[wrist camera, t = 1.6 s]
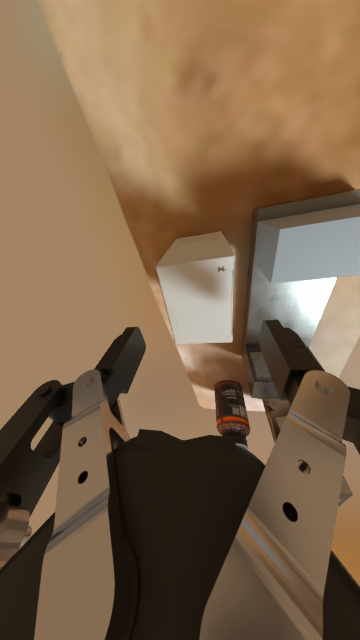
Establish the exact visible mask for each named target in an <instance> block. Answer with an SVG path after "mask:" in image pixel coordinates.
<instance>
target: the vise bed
mask: <svg viewBox="0 0 360 640" xmlns="http://www.w3.org/2000/svg"><path fill="white" fill-rule="evenodd" d="M355 204H360V189H355V190H350V191H344V192H339V193H334V194H329V195H323V196H318V197H313V198H308V199H302V200H297V201H292V202H287V203H281V204H276V205H271V206H266V207H260V208H255V209H253V220H252V233H251V246H250V259H249V272H248V284H247V297H246V310H245V323H244V336H243V349H242V359H243V363H244V367H245V371H246V376H247V380H248V384H249V388H250V393H251V397H252V398H271V399H279V396H278V394H277V391H276V388H275V386H274V383H273V381H272V378H271V375H270V373H269V370H268V367H267V365H266V362H265V360H264V357H263V354H262V352H261V349H260V344H259V339H260V332H261V326H262V321H263V320H274V319H277V320H279V322H280V323H281V325H282V326H283V328H288V327H289V328H290V329H292V330H293V331H294V332H296V333H297V334H298V335H299V337H300V338H301V340H302V342H304V344H305V345H306V348H308V347H309V345H310V342H311V340H312V337H313V335H314V332H315V330H316V327H317V325H318V323H319V320H320V318H321V315H322V313H323V310H324V308H325V305H326V303H327V300H328V298H329V296H330V293H331V291H332V288H333V286H334V283H335V281H336V278H337V277H336V278H326V279H315V280H305V281H295V282H285V283H274V284H271V283H270V282H269V281H268V279H267V278H266V277H265V276H264V275H263V273H262V272H261V271H260V270H259V268H258V267H257V266H256V265H255V263H254V254H255V243H256V232H257V222H258V221H263V220H269V219H275V218H281V217H286V216H292V215H298V214H304V213H309V212H315V211H321V210H327V209H332V208H338V207H344V206H350V205H355ZM308 349H309V348H308ZM309 351H310V349H309ZM310 352H311V351H310ZM311 353H312V352H311ZM312 355H313V354H312ZM313 356H314V355H313ZM314 358H315V356H314ZM315 359H316V358H315ZM316 360H317V359H316ZM317 362H318V361H317ZM318 363H319V362H318ZM319 365H320V363H319ZM320 366H321V365H320ZM321 367H322V366H321ZM322 369H323V368H322ZM323 370H324V369H323ZM324 371H325V370H324Z"/></svg>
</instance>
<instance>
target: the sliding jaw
mask: <svg viewBox="0 0 360 640" xmlns="http://www.w3.org/2000/svg"><path fill="white" fill-rule="evenodd" d="M254 263H255V265H256V266H257V267H258V268H259V270H260V271H261V272H262V273H263V275H264V276H265V277H266V278H267V279H268V281H269V282H270V283H271V284H274V283H285V282H295V281H305V280H315V279H326V278H336V277H346V276H356V275H360V204H355V205H350V206H344V207H338V208H332V209H327V210H321V211H315V212H309V213H304V214H298V215H292V216H286V217H281V218H275V219H269V220H263V221H258V222H257V232H256V243H255V254H254Z"/></svg>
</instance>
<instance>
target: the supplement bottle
mask: <svg viewBox="0 0 360 640" xmlns="http://www.w3.org/2000/svg"><path fill="white" fill-rule="evenodd" d="M215 402H216V419H217V429H218V431H219V433H220V434H221V435H222V436H225V437H235V444H236V445H238V446H240V447H242V448H244V449H246V450H247V449H248V446H247V440H246V436H248V434H249V433H250V427H249V422H248V417H247V412H246V407H245V402H244V397H243V392H242V388H241V386H240V385H239V384H237V383H235V382H232V381H224V382H220V383H218V384H217V385H216V387H215Z"/></svg>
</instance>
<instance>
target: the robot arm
mask: <svg viewBox="0 0 360 640" xmlns="http://www.w3.org/2000/svg"><path fill="white" fill-rule="evenodd" d="M259 344H260V349H261V352H262V354H263V357H264V360H265V362H266V365H267V367H268V370H269V373H270V375H271V378H272V381H273V383H274V386H275V388H276V391H277V394H278V396H279V399H280V400H288V401H289V404H290V406H291V407H290V410H289V412H288V414H287V417H286V419H285V421H284V424H283V426H282V428H281V431H280V433H279V435H278V438H277V440H276V442H275V445H274V447H273V449H272V452H271V454H270V457H269V459H268V461H267V463H266V466H265V465H264V464H263V463H262V462H261V461H260V460H259V459H258V458H257V457H256V456H254V455H253V454H252V453H250V452H249V451H248V450H246V449H244V448H242V447H240V446H238V445H236V444H235V437H225V436H214V435H208V436H203V437H198V438H194V439H189V440H180V439H178V438H176V437H173V436H171V435H169V434H167V433H164V432H162V431H156V430H143V429H140V430H139V433H138V436H137V437H134V438H132V439H131V438H130V436H129V434H128V432H127V429H126V426H125V422H124V418H123V413H122V409H121V405H120V401H119V399H118V397H119V394H120V393H126V394H127V393H128V391H129V388H130V386H131V383H132V381H133V379H134V376H135V374H136V371H137V369H138V367H139V365H140V362H141V360H142V357H143V355H144V353H145V349H146V345H145V341H144V339H143V336H142V334H141V331H140V329H139V328H138V327H127V328H126V329H125V331H124V332H123V334H122V335H120V336H119V337H117V338H116V339H115V340H114V341H113V343H112V344H111V347H109V349H108V350H107V352H106V353H105V354H104V356H103V357H102V359H101V360H100V362H99V363H98V365H97V366H96V368H95V369H94V370H89V371H87V372H85V373H83V374H82V375H81V376H80V377H78V379H77V380H76V381H75V382H73V383H69V384H66V385H62V384H61V383H60V382H59V381H57V380H52V381H49V382H46V383H44V384H43V385H41V386H40V387H39V388H37V389H36V390H35V391H34V393H33V394H32V395H31V396H30V397H29V398H28V399H27V401H26V402H25V403H24V404H23V405H22V406H21V407H20V408H19V409H18V411H17V412H16V413H15V414H14V415H13V416H12V417H11V419H10V420H9V421H8V422H7V423H6V424H5V425H4V427H3V428H2V429H1V430H0V640H360V587H359V585H358V584H357V583H356V581H355V580H354V579H353V577H352V576H351V575H350V574H349V572H348V571H347V570H346V568H345V567H344V566H343V564H342V563H341V562H340V561H339V559H338V558H337V557H336V555H335V554H334V553H333V552H332V550H331V545H332V539H333V533H334V526H335V521H336V514H337V509H338V502H339V496H340V490H341V484H342V478H343V471H344V465H345V459H346V446H345V444H343V443H342V439H344V440H346V441H349V442H352V443H354V445H355V447H356V449H357V450H358V452H359V454H360V390H359V389H355V388H351V387H348V386H347V385H346V384H345V383H344V382H343V381H342V380H340V379H339V378H337V377H336V376H334V375H332V374H330V373H327V372H325V371H324V370H323V369H322V367H321V366H320V365H319V363H318V362H317V360H316V359H315V358H314V356H313V355H312V353H311V352H310V351H309V349H308V348H306V345H305V344H304V342H302V340H301V338H300V337H299V335H298V334H297V333H296V332H294V331H293V330H292V329H290V328H289V327H288V328H283V326H282V325H281V323H280V322H279V320H277V319H274V320H263V321H262V326H261V332H260V339H259ZM48 417H49V418H50V419H52V420H53V422H52V424H51V425H50V427H49V428H48V430H47V431H46V433H45V435H44V436H43V437H42V439H41V440H40V442H39V443H38V445H37V447H36V448H35V450H34V451H33V450H32V449H31V441H32V439H33V438H34V436H35V435H36V433H37V432H38V430H39V429H40V428H41V426H42V425H43V423H44V422H45V420H46V419H47V418H48ZM59 462H60V465H59V476H58V488H57V500H56V511H55V513H53V515H52V516H50V518H49V519H48V520H47V521H46V522H45V523H44V524H43V525H42V526H41V527H40V528H39V529H38V530H37V531H36V532H35V533H34V534H33V535H32V536H31V532H32V528H31V526H28V525H29V519H30V516H31V514H32V512H33V510H34V508H35V506H36V505H37V503H38V501H39V499H40V497H41V495H42V493H43V492H44V490H45V488H46V486H47V484H48V482H49V480H50V478H51V476H52V475H53V473H54V471H55V469H56V467H57V465H58V463H59ZM30 536H31V537H30Z"/></svg>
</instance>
